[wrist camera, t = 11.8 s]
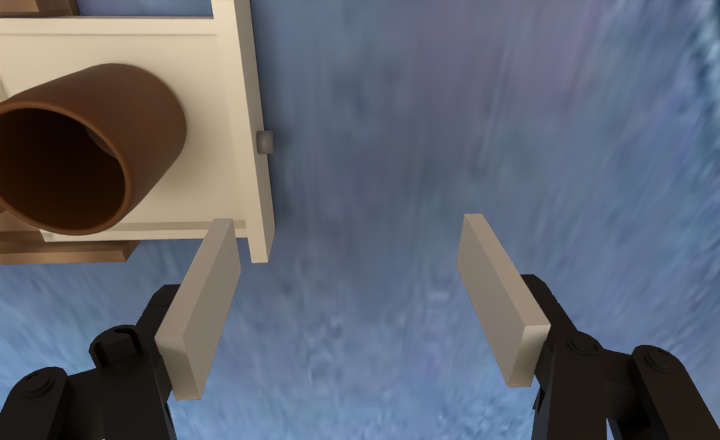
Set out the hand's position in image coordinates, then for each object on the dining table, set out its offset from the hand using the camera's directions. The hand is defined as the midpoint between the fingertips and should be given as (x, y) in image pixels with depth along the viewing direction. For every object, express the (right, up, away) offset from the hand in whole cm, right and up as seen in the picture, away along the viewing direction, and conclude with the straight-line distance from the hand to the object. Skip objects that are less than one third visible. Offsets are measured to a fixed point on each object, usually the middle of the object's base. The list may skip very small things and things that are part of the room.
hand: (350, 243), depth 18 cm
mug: (-17, +7, +11) cm, 22 cm away
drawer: (-15, +8, +13) cm, 21 cm away
